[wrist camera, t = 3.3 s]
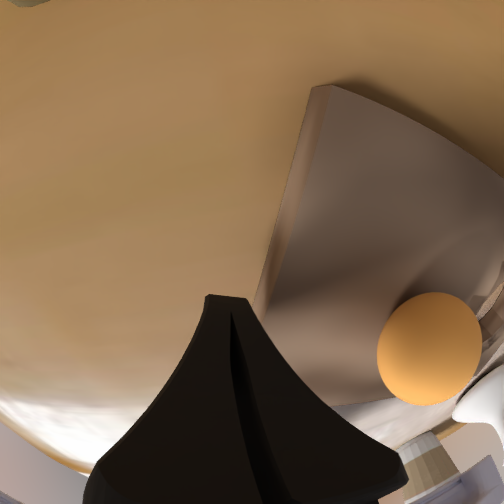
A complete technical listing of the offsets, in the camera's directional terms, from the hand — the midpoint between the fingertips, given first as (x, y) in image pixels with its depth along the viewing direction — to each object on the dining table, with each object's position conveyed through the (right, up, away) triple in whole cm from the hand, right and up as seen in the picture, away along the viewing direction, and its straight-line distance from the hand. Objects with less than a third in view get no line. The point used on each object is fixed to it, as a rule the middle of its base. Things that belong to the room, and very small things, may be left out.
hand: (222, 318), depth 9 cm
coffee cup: (+28, -29, +24) cm, 47 cm away
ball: (+9, -2, 0) cm, 9 cm away
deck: (+13, 0, +5) cm, 14 cm away
